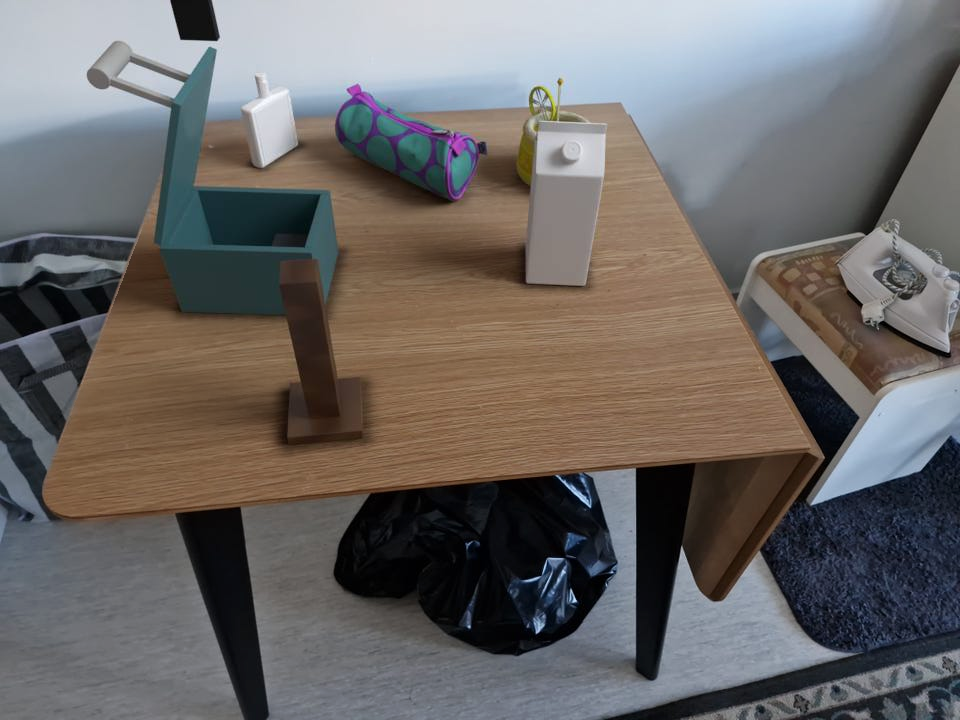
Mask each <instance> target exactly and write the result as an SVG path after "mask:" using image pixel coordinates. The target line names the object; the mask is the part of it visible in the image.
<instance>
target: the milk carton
mask: <svg viewBox="0 0 960 720" xmlns="http://www.w3.org/2000/svg"><path fill="white" fill-rule="evenodd" d="M607 128H608V124H607V123H601V122H590V123H581V122H558V121H539V122H538V131H537V134H536V138H535V146H534V157H533V169H532V180H531V186H530V193H529V201H528V202H529V205H528V215H527V226H526V237H525V283H526V284H533V285H534V284H536V285H554V286H555V285H557V286H558V285H559V286H578V287H579V286H581V287H583V286H584V287H585V286H586V284H587V279H588V273H589V268H590V260H591V255H592V251H593V242H594V237H595V231H596V226H597V220H598V214H599V209H600V208H599V207H600V203H601V197H602V191H603V186H604V185H603V184H604V178H605V162H606V141H607V140H606V137H607Z"/></svg>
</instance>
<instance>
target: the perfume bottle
mask: <svg viewBox="0 0 960 720" xmlns="http://www.w3.org/2000/svg"><path fill="white" fill-rule="evenodd" d="M254 79H255V84H256V89H257V95H258V96H257V97H256V98H254V99H253V100H250V101H249V102H247V103H246V104H244V105H242V106H241V107H240V112H241V117H242V121H243V125H244V130H245V135H246V140H247V144H248V149H249V154H250V157H251V162H252V166H254V167H256V168H258V169H263V168H265V167H266V166H269V165H270V164H272V163H274V161H276V160H278V159H280V157H282V156H284V155H286V154H287V153H288V152H290V151H292V150H294V149H295V148H296V147H298V146H299V140H298V136H297V135H298V133H297V129H296V123H295V117H294V111H293V104H292V100H291V93H290V91H289V89H288V88H286V87H283V86H277V87H275V88H273V89H271V90H270V86H269V81H268V76H267V73H266V72H265V71H258V72H257V73H255V74H254Z"/></svg>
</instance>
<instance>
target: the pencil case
mask: <svg viewBox="0 0 960 720" xmlns="http://www.w3.org/2000/svg"><path fill="white" fill-rule="evenodd" d="M361 87H362V86H361V85H360V84H359V83H356V84H354V85H352V86H350V87H347V88H346V92H347V93H348V94H349V95H350V96H351V98H349V99H348V100H346V101H345V102H344V103H343V104H342V105H341V106H340V108H339V110H338V112H337V115H336V118H335V123H334V132H335V136H336V139H337V141H338V143H339V144H340V145H341V147H343V148H344V149H345V150H346V151H348V152H349V153H351V154H352V155H353V156H355V157H357V158H360V159H362V160H364V161H366V162H368V163H370V164H372V165H374V166H376V167H379V168H381V169H383V170H385V171H387V172H390V173H391V174H393V175H396V176H398V177H399V178H401V179H404V180H405V181H407V182H408V183H409V182H410V183H411V184H413V185H415V186H418V187H420V188H422V189H424V190H427V191H429V192H431V193H434V194H436V195H438V196H440V197H442V198H445V199H448V200H449V201H451V202H456V201H459V200H460V199H461V198H462V197H463V195H464V194H465V192H466V190H467V188H468V187H469V186H470V184H471V182H472V180H473V178H474V176H475V173H476V171H477V167H478V165H479V160H480V155H483V156H488V148H487V142H486V141H484V140H483V141H479V142H477V141H476V139H475V138H474V137H473V136H472V135H470V134H468V133H465V132H462V131H461V132H460V131H455V130H452V129H446V128H443V127H441V126H438V125H432V124H430V123H429V122H427V121H423V120H420V119H416V118H414V117H410V116H408V115H407V114H406V115H405V114H402V113H401V112H399V111H397V110H394V109H392V108H391V107H388V106H387V105H385V104H383V103H381V101H378V100H377V99H375V97H374V96H373V95H372V94H370V93H369V92H367V91H362V88H361Z"/></svg>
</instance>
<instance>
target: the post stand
mask: <svg viewBox="0 0 960 720" xmlns="http://www.w3.org/2000/svg"><path fill="white" fill-rule="evenodd" d="M279 287H280V291H281V296H282V300H283V305H284V309H285V314H286V315H285V318H286V321H287V327H288V331H289V335H290V341H291V344H292V345H291V346H292V350H293V353H294V358H295V362H296V367H297V371H298V375H299V379H300V381H298V382H297V381H296V382H290V383H289V392H288V393H289V394H288V395H289V396H288V413H287V414H288V415H287V431H286V439H287V442H288V445H289V446H292V445H302V444H304V445H305V444H315V443H323V442H336V441H346V440H357V439H363V438H364V420H363V395H362V394H363V393H362V392H363V391H362V380H361V376H356V377H344V378H343V377H342V378H339V377H338V371H337V365H336V359H335V352H334V347H333V343H332V336H331V330H330V324H329V320H328V313H327V312H328V311H327V306H326V305H325V300H324V294H323V288H322V282H321V276H320V270H319V264H318V259H306V260H290V261H281V264H280V276H279Z"/></svg>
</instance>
